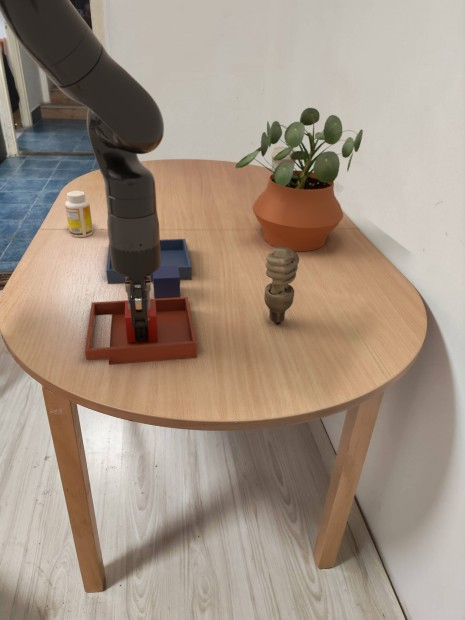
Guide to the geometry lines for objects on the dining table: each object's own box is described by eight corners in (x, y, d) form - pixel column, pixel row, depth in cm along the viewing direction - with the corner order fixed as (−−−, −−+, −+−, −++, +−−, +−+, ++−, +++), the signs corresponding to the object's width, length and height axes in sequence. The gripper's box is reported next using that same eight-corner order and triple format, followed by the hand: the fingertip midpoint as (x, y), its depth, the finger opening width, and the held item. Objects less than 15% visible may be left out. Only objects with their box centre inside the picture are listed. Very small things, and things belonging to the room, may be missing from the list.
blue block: (154, 301, 88) (153, 278, 85) (153, 288, 92) (152, 266, 89) (180, 299, 88) (179, 277, 86) (178, 287, 93) (177, 265, 90)
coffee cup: (264, 188, 149) (267, 150, 143) (272, 181, 156) (276, 145, 149) (289, 192, 147) (293, 154, 140) (296, 185, 153) (301, 148, 147)
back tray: (107, 283, 92) (106, 270, 91) (110, 253, 104) (109, 241, 102) (191, 279, 95) (191, 266, 94) (185, 250, 107) (185, 238, 105)
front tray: (87, 366, 71) (84, 351, 69) (93, 316, 82) (91, 302, 81) (197, 357, 74) (197, 342, 72) (188, 310, 85) (187, 296, 84)
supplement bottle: (90, 227, 116) (85, 188, 110) (95, 236, 112) (90, 195, 106) (68, 230, 114) (61, 190, 108) (71, 239, 109) (65, 198, 104)
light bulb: (282, 335, 80) (292, 258, 72) (254, 325, 82) (261, 250, 74) (295, 320, 84) (305, 246, 76) (268, 311, 86) (276, 238, 78)
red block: (127, 343, 75) (124, 318, 72) (127, 325, 79) (125, 301, 76) (157, 340, 76) (156, 315, 73) (156, 324, 80) (155, 299, 77)
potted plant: (355, 255, 109) (383, 122, 93) (242, 264, 102) (251, 123, 86) (317, 219, 127) (335, 104, 111) (219, 225, 121) (223, 103, 104)
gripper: (162, 258, 63) (166, 355, 72) (157, 219, 75) (161, 306, 84) (106, 260, 62) (118, 358, 71) (110, 221, 73) (120, 309, 83)
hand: (141, 330), depth 77 cm, fingers closed on red block, 5 cm apart
